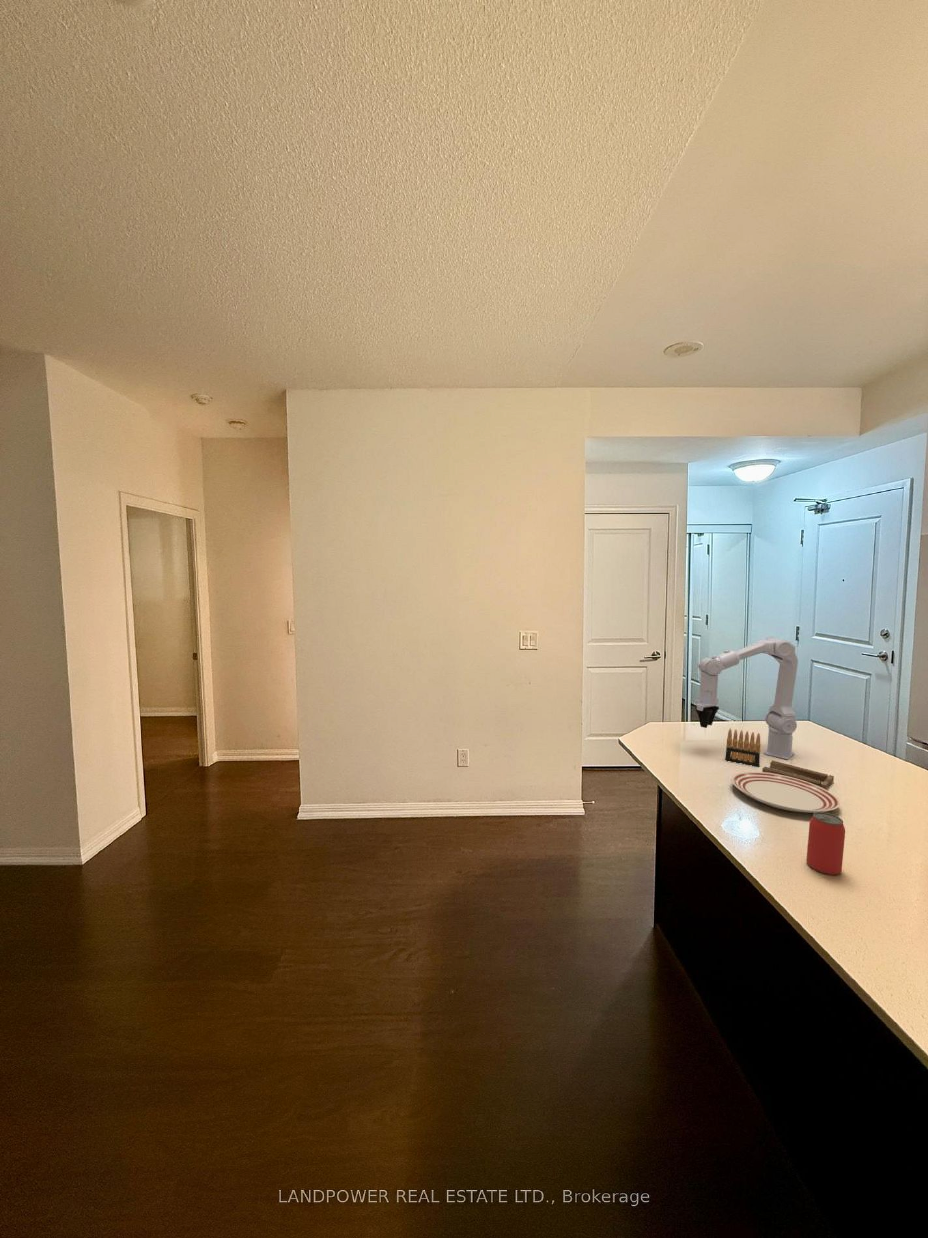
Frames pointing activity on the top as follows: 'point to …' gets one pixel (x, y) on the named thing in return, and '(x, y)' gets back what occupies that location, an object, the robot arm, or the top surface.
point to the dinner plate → (785, 792)
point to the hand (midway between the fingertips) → (706, 726)
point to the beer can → (826, 843)
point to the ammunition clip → (743, 749)
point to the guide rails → (800, 774)
